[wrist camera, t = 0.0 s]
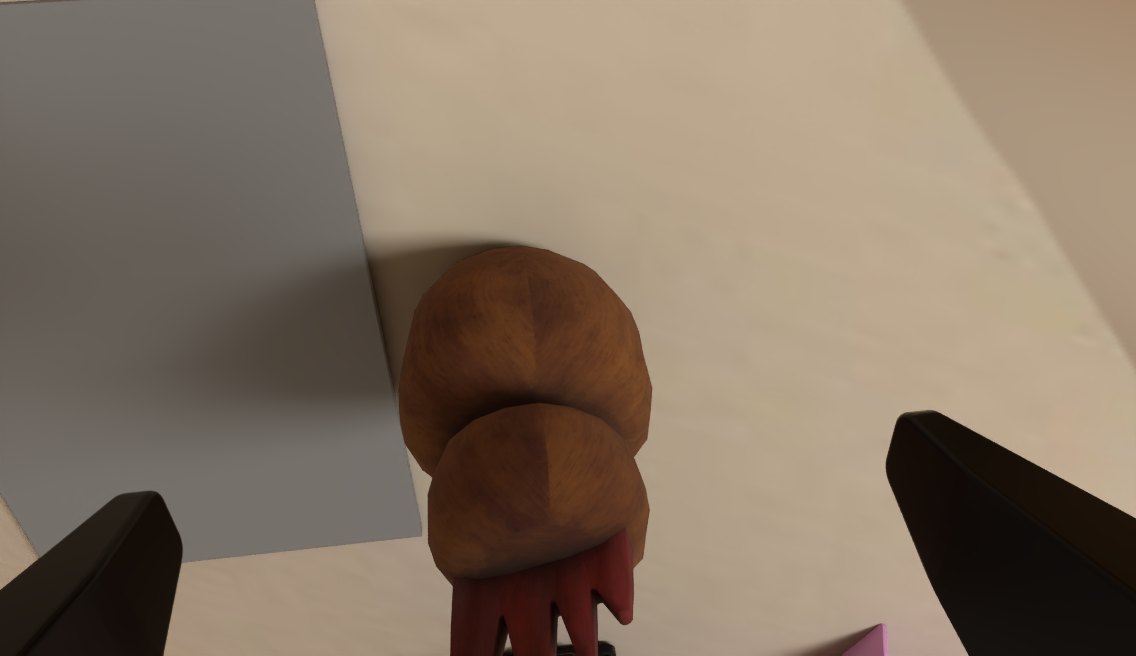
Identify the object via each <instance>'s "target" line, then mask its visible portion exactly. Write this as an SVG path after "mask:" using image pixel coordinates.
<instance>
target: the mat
mask: <svg viewBox="0 0 1136 656" xmlns="http://www.w3.org/2000/svg"><path fill="white" fill-rule="evenodd" d="M149 490H150V491H156V492H158V493H159V494H160V495H161V496H162V497H163V499H164V501H165V503H166V505H167V507H168V510H169V512H170V514H171V516H172V518H173V520H174V523H175V525H176V527H177V529H178V531H179V533H180V536H181V539H182V543H183V557H182V563H183V562H192V561H202V560H211V559H220V558H229V557H238V556H247V555H256V554H265V553H274V552H283V551H292V550H301V549H310V548H319V547H328V546H337V545H346V544H355V543H364V542H374V541H383V540H392V539H401V538H410V537H419V536H422V524H421V519H420V514H419V510H418V505H417V500H416V495H415V490H414V485H413V480H412V475H411V470H410V465H409V461H408V456H407V451H406V446H405V443H404V439H403V435H402V430H401V426H400V417H399V412H398V407H397V402H396V397H395V392H394V387H393V382H392V377H391V372H390V368H389V363H388V358H387V353H386V348H385V343H384V338H383V333H382V328H381V323H380V319H379V314H378V309H377V304H376V299H375V294H374V289H373V284H372V279H371V274H370V270H369V265H368V260H367V255H366V250H365V245H364V240H363V235H362V230H361V225H360V221H359V216H358V211H357V206H356V201H355V196H354V191H353V186H352V181H351V177H350V172H349V167H348V162H347V157H346V152H345V147H344V142H343V137H342V132H341V128H340V123H339V118H338V113H337V108H336V103H335V98H334V93H333V88H332V83H331V79H330V74H329V69H328V64H327V59H326V54H325V49H324V44H323V39H322V34H321V30H320V25H319V20H318V15H317V10H316V5H315V0H37V1H19V2H1V3H0V494H1V495H2V497H3V498H4V500H5V502H6V503H7V505H8V506H9V508H10V510H11V511H12V513H13V515H14V516H15V518H16V519H17V521H18V523H19V524H20V526H21V527H22V529H23V531H24V532H25V534H26V535H27V537H28V539H29V540H30V542H31V543H32V545H33V547H34V548H35V550H36V551H37V553H38V555H39V556H40V557H41V556H43V555H44V554H45V553H46V552H48V551H49V550H50V549H51V548H52V547H54V546H55V545H56V544H57V543H59V542H60V541H61V540H62V539H64V538H65V537H66V536H67V535H68V534H70V533H71V532H72V531H73V530H75V529H76V528H77V527H78V526H80V525H81V524H82V523H83V522H84V521H86V520H87V519H88V518H89V517H91V516H92V515H93V514H94V513H96V512H97V511H98V510H99V509H100V508H102V507H103V506H104V505H105V504H107V503H108V502H109V501H110V500H111V499H113V498H114V497H116V496H117V495H120V494H123V493H130V492H140V491H149Z"/></svg>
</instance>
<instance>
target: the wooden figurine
mask: <svg viewBox="0 0 1136 656" xmlns="http://www.w3.org/2000/svg"><path fill="white" fill-rule="evenodd" d="M398 392H399V415H400V426H401V430H402V435H403V439H404V443H405V445H406V446H407V448H408V449H409V451H410V452H411V454H412V455H413V456H414V458H415V459H416V461H417V462H418V464H419V465H420V467H421V468H422V470H423V471H425V472H426V473H427V474H428V475H430V476H431V477H432V481H431V485H430V488H429V492H428V544H429V547H430V550H431V553H432V556H433V559H434V562H435V564H436V567H437V568H438V569H439V570H440V571H441V573H442V574H443V575H444V576H445V577H446V579H447V580H448V581H449V582H450V583H451V585H452V586H453V596H452V616H451V648H450V656H503V652H504V648H505V644H506V640H507V636H508V634H509V638H510V642H511V646H512V650H513V654H514V656H556V650H557V627H558V617H559V616H562V619H563V621H564V624H565V626H566V629H567V631H568V634H569V637H570V639H571V642H572V644H573V647H574V649H575V652H576V654H577V656H598V620H597V605H598V604H599V603H604V605H605V606H606V607H607V608H608V609H609V610H610V612H611V613H612V614H613V615H614V616H615V618H616V619H617V620H618V621H619V622H620V624H622V625H627V624H629V623H631V621H632V620H633V601H634V579H633V568H634V567H635V566H636V565H637V564H638V563H639V562H640V561H641V560H642V559H643V555H644V547H645V538H646V531H647V524H648V518H649V511H650V509H649V504H648V498H647V493H646V488H645V485H644V482H643V480H642V477H641V475H640V472H639V469H638V467H637V464H636V461H635V459H634V456H635V455H636V454H637V452H638V451H639V450H640V448H641V447H642V445H643V444H644V443H645V441H646V440H647V437H648V428H649V420H650V411H651V398H652V385H651V381H650V378H649V374H648V370H647V366H646V363H645V359H644V355H643V350H642V345H641V340H640V334H639V331H638V328H637V326H636V323H635V321H634V318H633V316H632V313H631V312H630V310H629V309H628V308H627V307H626V305H625V304H624V303H623V302H622V300H621V299H620V298H619V297H618V296H617V294H616V293H615V292H614V291H613V290H612V289H611V288H610V287H609V286H608V285H607V284H606V283H605V281H604V280H603V279H602V278H601V277H600V276H599V275H598V274H597V273H596V272H595V271H594V270H592V269H591V268H589V267H588V266H586V265H585V264H583V263H580V262H577V261H575V260H572V259H570V258H567V257H565V256H562V255H560V254H557V253H554V252H552V251H549V250H545V249H538V248H532V247H525V246H514V247H505V248H496V249H490V250H488V251H485V252H482V253H479V254H476V255H473V256H471V257H468V258H465V259H463V260H461V261H459V262H457V263H456V264H455V265H454V266H453V267H452V268H451V269H450V270H449V271H448V272H446V273H445V274H444V275H443V276H442V277H441V278H440V279H439V280H438V281H437V282H436V283H435V284H434V285H433V286H432V287H430V288H429V289H428V290H427V291H426V292H425V293H424V294H423V296H422V298H421V300H420V302H419V304H418V306H417V307H416V309H415V312H414V316H413V320H412V325H411V329H410V333H409V337H408V341H407V346H406V350H405V354H404V358H403V363H402V367H401V374H400V382H399V389H398Z"/></svg>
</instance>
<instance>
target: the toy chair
mask: <svg viewBox="0 0 1136 656" xmlns="http://www.w3.org/2000/svg"><path fill="white" fill-rule="evenodd" d="M841 656H888V650H887V627H886V625H884V624H880V625H878V626H877V627H876V628H875V629H873V630H872V631H871V632H870V633H868V634H867V635H866V636H865V637H863V638H862V639H861V640H860V641H858V642H857V643H856V644H855V645H854V646H852V647H851V648H850V649H849V650H847V651H846V652H845V653H844V654H842V655H841Z"/></svg>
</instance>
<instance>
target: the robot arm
mask: <svg viewBox="0 0 1136 656" xmlns="http://www.w3.org/2000/svg"><path fill="white" fill-rule="evenodd" d="M886 474H887V478H888V481H889V484H890V486H891V489H892V491H893V493H894V496H895V498H896V501H897V503H898V506H899V508H900V511H901V513H902V515H903V518H904V520H905V523H906V525H907V528H908V530H909V533H910V535H911V537H912V540H913V542H914V545H915V547H916V550H917V552H918V555H919V557H920V559H921V562H922V564H923V567H924V569H925V572H926V574H927V576H928V578H929V581H930V583H931V585H932V587H933V589H934V591H935V593H936V595H937V597H938V599H939V601H940V603H941V605H942V607H943V609H944V610H945V612H946V614H947V616H948V618H949V620H950V622H951V623H952V625H953V627H954V629H955V631H956V633H957V635H958V636H959V638H960V640H961V642H962V644H963V646H964V648H965V649H966V651H967V653H968V655H969V656H1136V518H1134V517H1132V516H1131V515H1129V514H1127V513H1125V512H1123V511H1121V510H1119V509H1118V508H1116V507H1114V506H1112V505H1110V504H1108V503H1106V502H1104V501H1103V500H1101V499H1099V498H1097V497H1095V496H1093V495H1091V494H1090V493H1088V492H1086V491H1084V490H1082V489H1080V488H1078V487H1077V486H1075V485H1073V484H1071V483H1069V482H1067V481H1065V480H1064V479H1062V478H1060V477H1058V476H1056V475H1054V474H1052V473H1051V472H1049V471H1047V470H1045V469H1043V468H1041V467H1039V466H1038V465H1036V464H1034V463H1032V462H1030V461H1028V460H1026V459H1025V458H1023V457H1021V456H1019V455H1017V454H1015V453H1013V452H1012V451H1010V450H1008V449H1006V448H1004V447H1002V446H1000V445H999V444H997V443H995V442H993V441H991V440H989V439H987V438H986V437H984V436H982V435H980V434H978V433H976V432H974V431H973V430H971V429H969V428H967V427H965V426H963V425H961V424H960V423H958V422H956V421H954V420H952V419H950V418H948V417H947V416H945V415H943V414H941V413H939V412H937V411H933V410H925V411H915V412H906V413H903V414H901V415H900V416H899V418H898V419H897V421H896V424H895V428H894V432H893V436H892V439H891V443H890V447H889V451H888V455H887V458H886ZM182 557H183V543H182V539H181V536H180V533H179V531H178V529H177V527H176V525H175V523H174V520H173V518H172V516H171V514H170V512H169V510H168V507H167V505H166V503H165V501H164V499H163V497H162V496H161V495H160V494H159V493H158V492H156V491H150V490H149V491H140V492H130V493H123V494H120V495H117V496H116V497H114V498H113V499H111V500H110V501H109V502H108V503H107V504H105V505H104V506H103V507H102V508H100V509H99V510H98V511H97V512H96V513H94V514H93V515H92V516H91V517H89V518H88V519H87V520H86V521H84V522H83V523H82V524H81V525H80V526H78V527H77V528H76V529H75V530H73V531H72V532H71V533H70V534H68V535H67V536H66V537H65V538H64V539H62V540H61V541H60V542H59V543H57V544H56V545H55V546H54V547H52V548H51V549H50V550H49V551H48V552H46V553H45V554H44V555H43V556H41V557H40V558H39V559H38V560H37V561H35V562H34V563H33V564H32V565H30V566H29V567H28V568H27V569H25V570H24V571H23V572H22V573H21V574H19V575H18V576H17V577H16V578H14V579H13V580H12V581H11V582H9V583H8V584H7V585H6V586H5V587H3V588H2V589H1V590H0V656H163V655H164V650H165V645H166V640H167V635H168V629H169V624H170V619H171V614H172V609H173V604H174V599H175V594H176V589H177V584H178V578H179V573H180V568H181V563H182ZM511 656H514V655H511ZM556 656H577V654H576V652H575V649H574V648H567V649H559V650H556ZM598 656H616V652H615V648H614V646H613V645H610V644H600V645H598Z"/></svg>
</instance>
